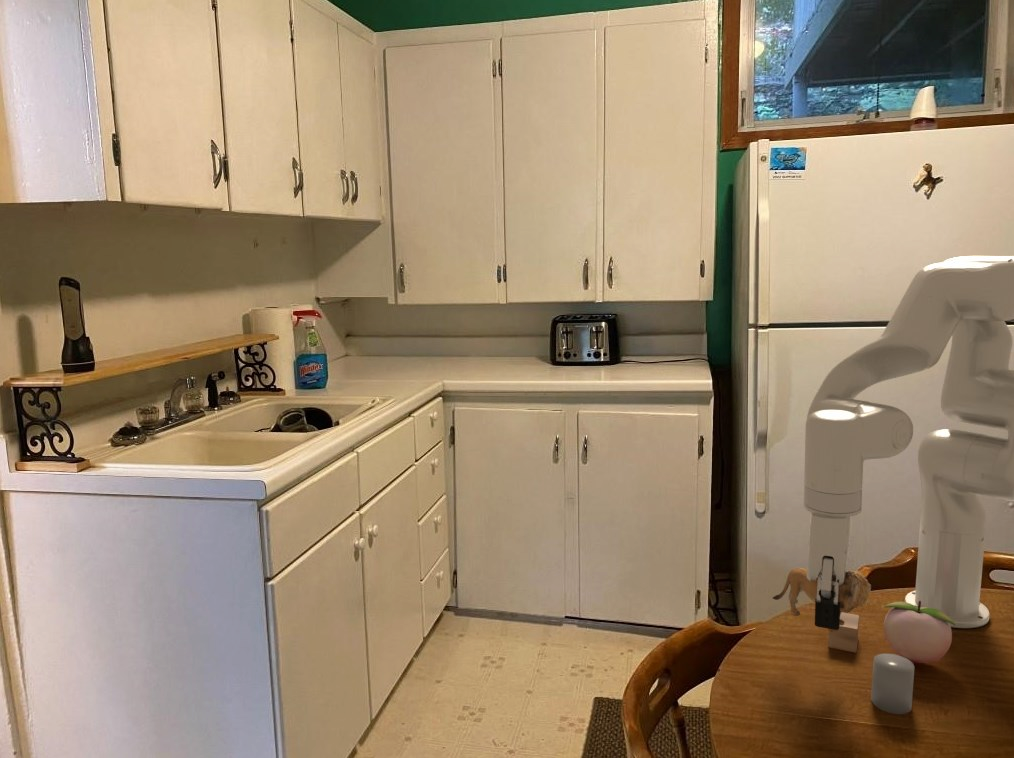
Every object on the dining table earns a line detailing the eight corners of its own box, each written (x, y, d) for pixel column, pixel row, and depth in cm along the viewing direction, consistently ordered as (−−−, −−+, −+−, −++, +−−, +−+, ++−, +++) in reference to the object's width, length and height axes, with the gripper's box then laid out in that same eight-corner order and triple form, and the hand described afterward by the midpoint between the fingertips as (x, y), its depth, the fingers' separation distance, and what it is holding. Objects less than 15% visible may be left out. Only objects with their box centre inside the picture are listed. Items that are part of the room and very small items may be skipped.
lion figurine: (875, 629, 110) (878, 570, 108) (857, 643, 107) (859, 582, 105) (781, 596, 121) (782, 542, 119) (762, 607, 118) (763, 552, 116)
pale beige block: (831, 633, 126) (832, 610, 125) (857, 638, 124) (859, 615, 123) (828, 647, 122) (829, 624, 121) (856, 653, 120) (857, 629, 119)
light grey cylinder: (871, 689, 110) (874, 650, 109) (911, 698, 108) (914, 658, 107) (870, 708, 105) (873, 668, 104) (911, 717, 103) (914, 676, 102)
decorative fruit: (881, 671, 114) (885, 608, 113) (880, 645, 122) (884, 585, 120) (954, 685, 110) (959, 619, 109) (949, 657, 118) (953, 595, 116)
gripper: (810, 477, 118) (807, 586, 121) (796, 516, 103) (794, 640, 106) (864, 482, 115) (860, 594, 118) (858, 523, 99) (854, 650, 103)
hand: (829, 615), depth 112 cm, fingers closed on lion figurine, 6 cm apart
